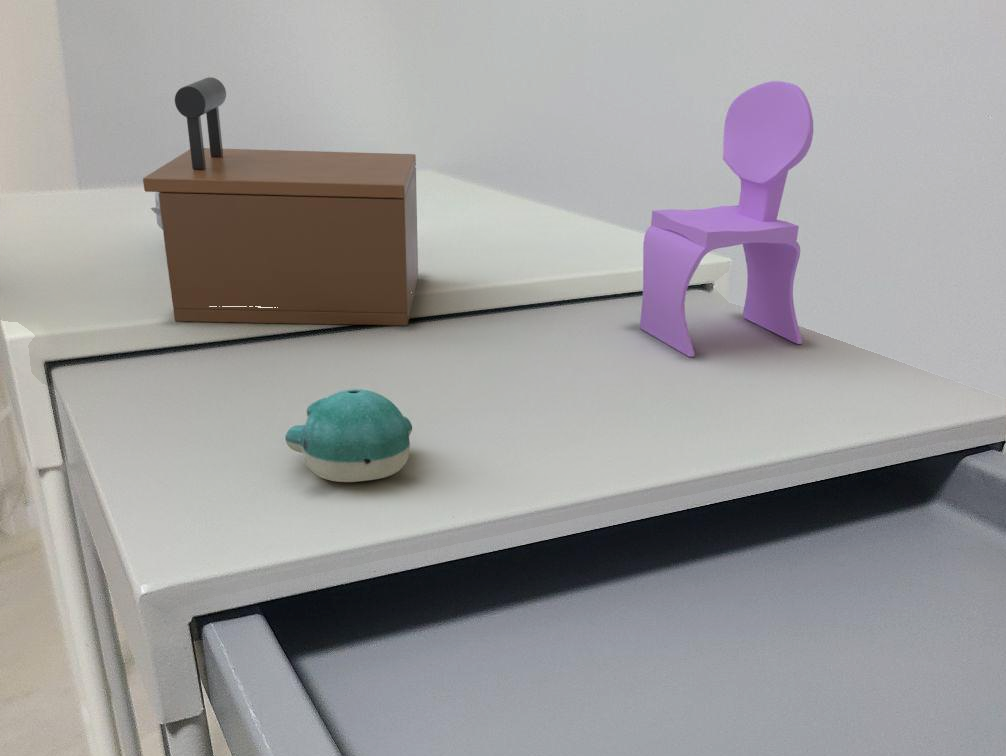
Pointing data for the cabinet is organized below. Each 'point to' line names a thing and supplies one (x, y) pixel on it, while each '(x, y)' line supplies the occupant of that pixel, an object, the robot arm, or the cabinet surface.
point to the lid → (270, 162)
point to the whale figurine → (353, 437)
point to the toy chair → (736, 221)
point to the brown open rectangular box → (291, 257)
